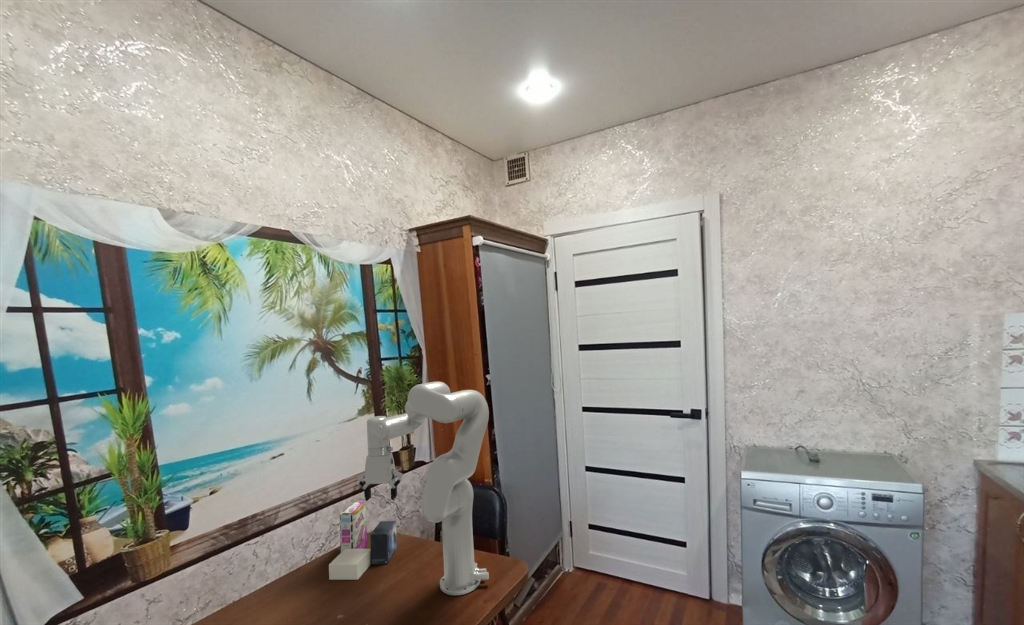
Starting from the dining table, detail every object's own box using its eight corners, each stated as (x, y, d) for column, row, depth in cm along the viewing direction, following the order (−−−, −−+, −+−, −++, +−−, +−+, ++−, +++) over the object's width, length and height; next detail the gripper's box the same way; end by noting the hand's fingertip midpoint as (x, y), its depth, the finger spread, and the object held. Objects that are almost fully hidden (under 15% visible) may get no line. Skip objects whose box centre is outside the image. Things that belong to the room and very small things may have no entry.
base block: (372, 563, 139) (371, 548, 140) (357, 580, 129) (357, 564, 130) (345, 563, 141) (345, 548, 141) (329, 580, 131) (328, 564, 131)
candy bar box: (353, 561, 141) (351, 513, 142) (340, 561, 142) (338, 514, 143) (368, 545, 152) (366, 501, 154) (355, 545, 153) (354, 501, 154)
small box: (388, 564, 137) (387, 533, 138) (370, 565, 137) (368, 534, 138) (398, 548, 148) (396, 519, 149) (380, 549, 148) (379, 520, 149)
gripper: (405, 447, 148) (407, 494, 147) (361, 449, 150) (363, 495, 148) (397, 452, 141) (399, 502, 139) (351, 454, 142) (353, 504, 141)
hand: (381, 498), depth 144 cm, fingers open, 9 cm apart
